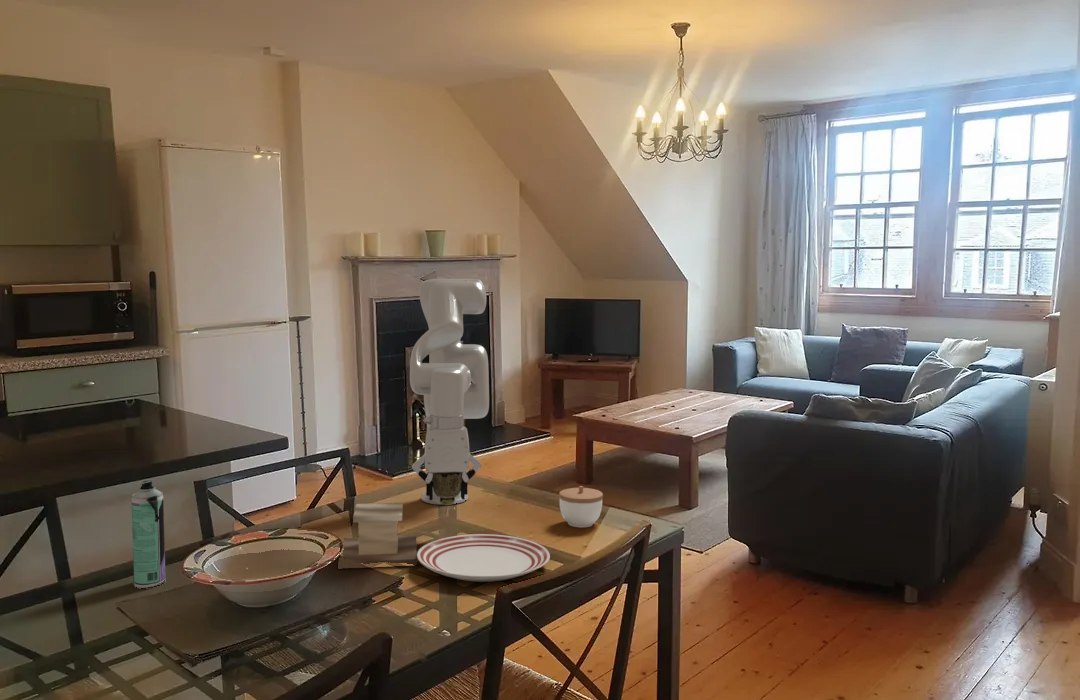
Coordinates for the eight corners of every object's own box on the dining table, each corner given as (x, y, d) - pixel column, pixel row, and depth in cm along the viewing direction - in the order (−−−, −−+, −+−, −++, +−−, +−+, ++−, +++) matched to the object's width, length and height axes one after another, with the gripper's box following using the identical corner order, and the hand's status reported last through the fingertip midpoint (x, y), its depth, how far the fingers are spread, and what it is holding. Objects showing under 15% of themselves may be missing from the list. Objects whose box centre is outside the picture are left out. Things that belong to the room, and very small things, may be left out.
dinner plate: (489, 537, 185) (490, 523, 185) (577, 568, 166) (577, 552, 166) (390, 566, 166) (390, 550, 166) (475, 604, 147) (475, 586, 147)
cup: (466, 499, 188) (466, 466, 187) (460, 509, 181) (460, 474, 180) (434, 498, 189) (434, 464, 188) (427, 507, 182) (427, 473, 181)
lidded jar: (611, 523, 197) (611, 486, 197) (584, 533, 189) (585, 494, 188) (576, 515, 204) (577, 479, 203) (549, 524, 196) (550, 486, 195)
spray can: (171, 580, 156) (169, 479, 155) (149, 590, 151) (146, 486, 150) (149, 576, 158) (147, 477, 156) (127, 586, 153) (124, 483, 151)
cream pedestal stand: (343, 544, 179) (343, 500, 178) (416, 541, 181) (416, 498, 181) (337, 569, 163) (337, 521, 162) (416, 566, 166) (416, 518, 165)
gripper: (408, 426, 178) (408, 504, 180) (486, 424, 180) (485, 501, 182) (408, 419, 185) (408, 494, 187) (483, 418, 188) (482, 492, 190)
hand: (446, 497), depth 185 cm, fingers closed on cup, 6 cm apart
